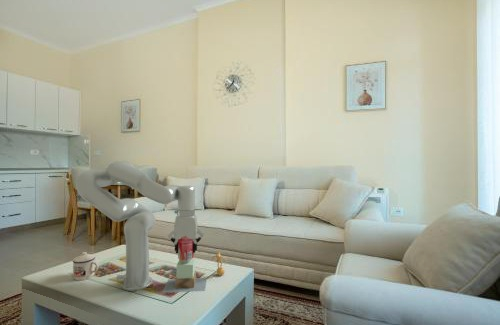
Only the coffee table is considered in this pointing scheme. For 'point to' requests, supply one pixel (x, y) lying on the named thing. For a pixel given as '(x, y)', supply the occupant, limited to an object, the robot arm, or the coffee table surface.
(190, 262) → the pale green cube
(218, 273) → the figurine
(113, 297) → the coffee table surface
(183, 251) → the soda can
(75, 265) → the teacup with lid
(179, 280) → the base brick
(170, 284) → the mat
